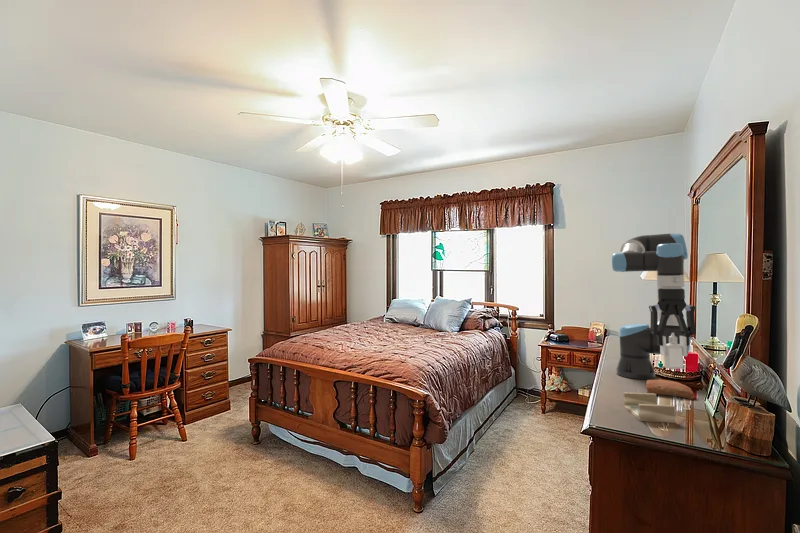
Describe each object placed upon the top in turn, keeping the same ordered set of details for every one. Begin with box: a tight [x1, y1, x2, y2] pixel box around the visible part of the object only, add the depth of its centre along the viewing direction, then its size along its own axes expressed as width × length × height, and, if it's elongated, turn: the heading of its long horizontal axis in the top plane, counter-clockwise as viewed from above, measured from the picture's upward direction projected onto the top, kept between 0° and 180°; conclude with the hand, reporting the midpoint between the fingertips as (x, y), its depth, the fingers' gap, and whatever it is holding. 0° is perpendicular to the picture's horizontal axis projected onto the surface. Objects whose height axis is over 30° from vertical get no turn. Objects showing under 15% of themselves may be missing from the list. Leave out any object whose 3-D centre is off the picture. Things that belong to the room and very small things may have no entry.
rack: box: [623, 392, 676, 424], centre depth 127 cm, size 13×10×5 cm
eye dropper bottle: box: [663, 333, 684, 370], centre depth 131 cm, size 4×6×12 cm
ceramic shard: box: [645, 379, 695, 400], centre depth 150 cm, size 15×6×15 cm
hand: (673, 354), depth 131 cm, fingers closed on eye dropper bottle, 5 cm apart
